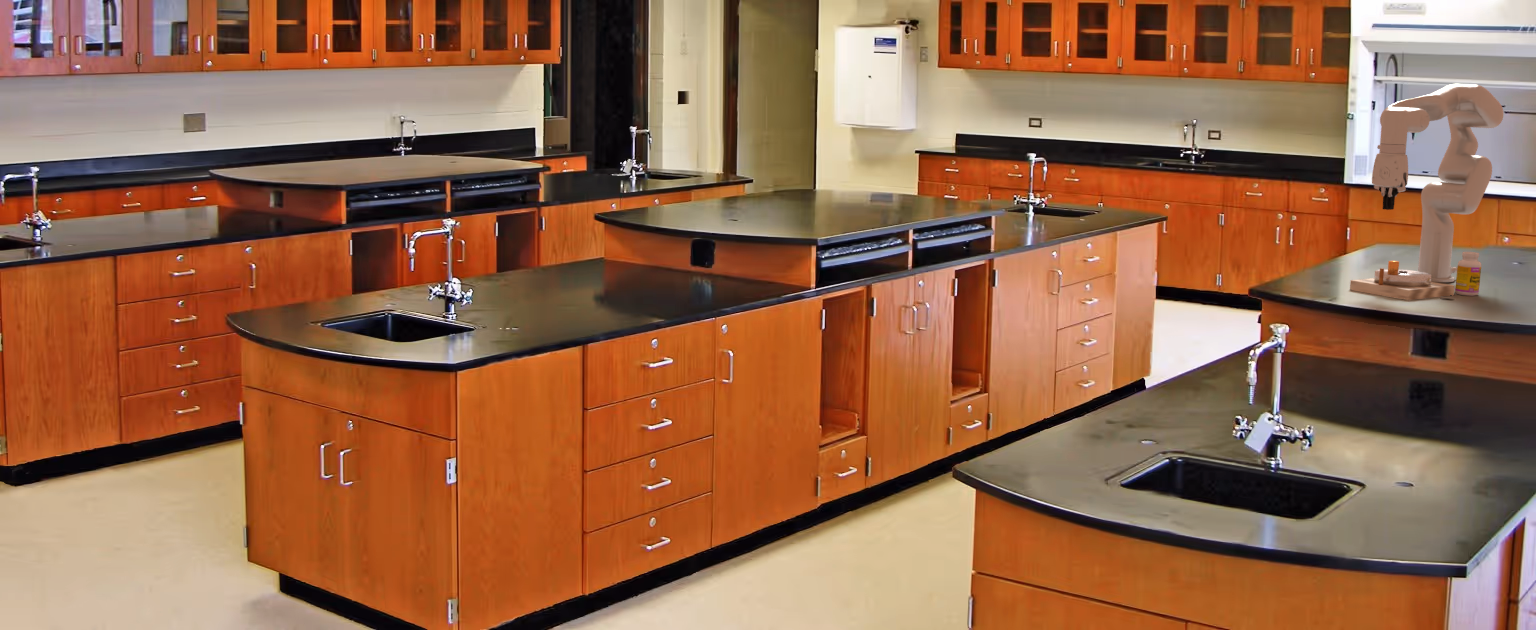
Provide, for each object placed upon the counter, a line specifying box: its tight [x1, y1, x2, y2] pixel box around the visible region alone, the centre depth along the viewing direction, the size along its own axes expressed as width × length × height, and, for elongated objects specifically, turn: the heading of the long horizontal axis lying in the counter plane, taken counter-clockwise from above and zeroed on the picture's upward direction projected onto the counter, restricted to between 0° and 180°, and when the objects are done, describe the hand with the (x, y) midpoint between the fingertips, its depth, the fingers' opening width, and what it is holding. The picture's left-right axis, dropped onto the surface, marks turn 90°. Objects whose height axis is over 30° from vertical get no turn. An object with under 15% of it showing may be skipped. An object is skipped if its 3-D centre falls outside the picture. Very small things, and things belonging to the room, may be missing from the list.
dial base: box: [1349, 267, 1455, 301], centre depth 475 cm, size 21×21×8 cm
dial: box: [1373, 260, 1431, 287], centre depth 474 cm, size 16×16×7 cm
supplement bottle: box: [1454, 251, 1482, 297], centre depth 473 cm, size 7×7×13 cm
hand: (1388, 209), depth 480 cm, fingers closed
